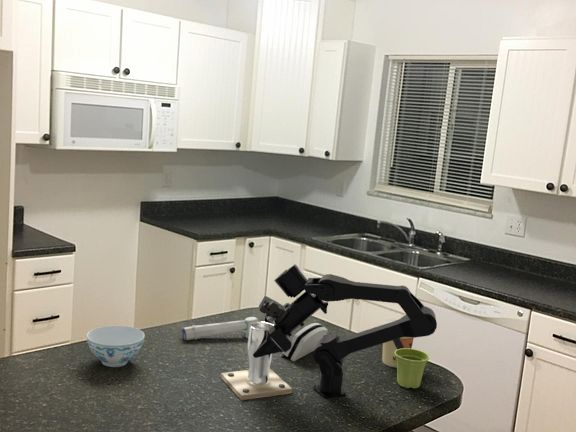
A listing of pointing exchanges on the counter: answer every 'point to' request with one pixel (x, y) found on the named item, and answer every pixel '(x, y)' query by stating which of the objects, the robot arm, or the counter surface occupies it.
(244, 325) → the grey long bar
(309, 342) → the white layered curved block
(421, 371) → the plant pot
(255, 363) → the metal tumbler
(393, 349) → the cream lidded tub
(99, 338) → the chinaware
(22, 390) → the counter surface
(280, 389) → the bolt plate
